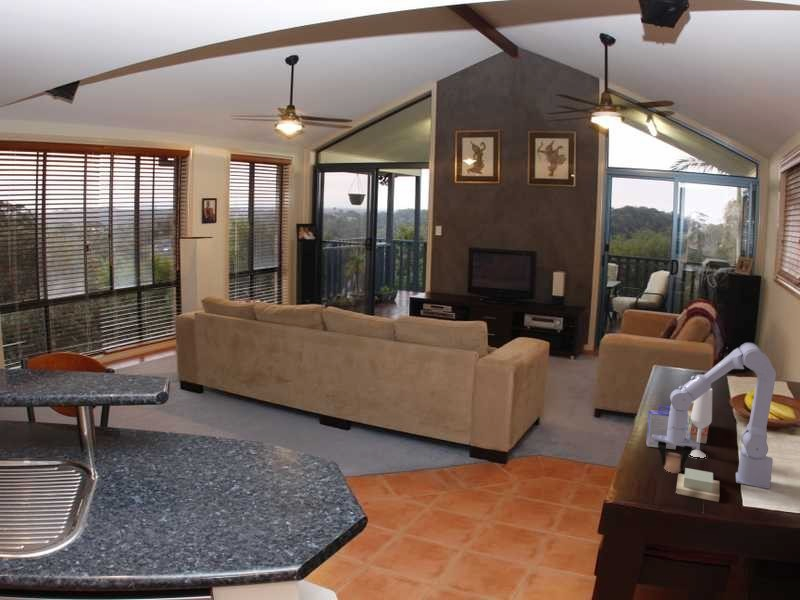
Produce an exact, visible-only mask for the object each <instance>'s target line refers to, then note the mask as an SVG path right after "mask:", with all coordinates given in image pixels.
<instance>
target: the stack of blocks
mask: <svg viewBox="0 0 800 600" xmlns="http://www.w3.org/2000/svg"><path fill="white" fill-rule="evenodd" d="M693 405H694V401H692V403H691V406H690V408H689V409H688V421H687V429H686V438H685V439H688V440H691V441H695V442H697V434H698V428H697V427H696V426H695V425H694V424H693V422H692V420H691V413H692V409H693ZM709 427H710V424H709V425H708V426H706V427H705V428H703V429H702V432H701V440H700V444H707V440H708V434H709Z"/></svg>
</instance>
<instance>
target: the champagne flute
mask: <svg viewBox="0 0 800 600" xmlns="http://www.w3.org/2000/svg"><path fill="white" fill-rule="evenodd" d="M691 420H692V422H693V424H694V425H695V426H696V427H697V428H698V434H697V442H700V440H701V432H702V429H703V428H705V427H706V426H708V425H709V426H710V424H712V421H713V388H712V387H711V389H710V390H708V391H707V392H706V393H704V394H703V395H702V396H700V397H699V398H697V399H696V400H695V401H694V405H693V409H692V413H691ZM700 448H701V447H699V450H696V449H692V452H691V454H690V455H691V456H693V457H700V458H704V457H706V455H707V454H706V453H704V452H703V451H701V449H700ZM693 457H692V458H693Z"/></svg>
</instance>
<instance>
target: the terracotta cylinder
mask: <svg viewBox="0 0 800 600" xmlns="http://www.w3.org/2000/svg"><path fill="white" fill-rule="evenodd" d="M682 457H683V455H681V454H679V453H677V452H665V465H663V470H664V469H665V470H666V471H665V470H664V471H665V472H667V471H668V473H669V472H671V473H670V474H678V473H679V472H680V473H681V470H682V469H681V462H682ZM680 473H679V474H680Z"/></svg>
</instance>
